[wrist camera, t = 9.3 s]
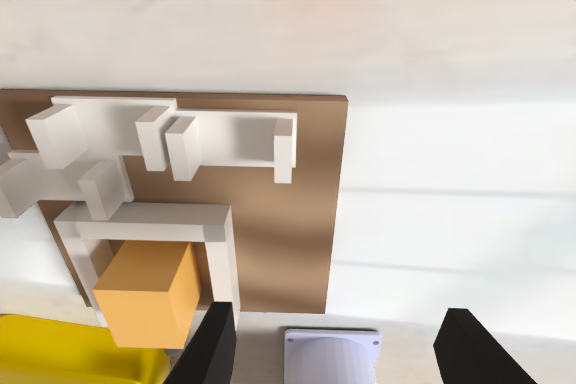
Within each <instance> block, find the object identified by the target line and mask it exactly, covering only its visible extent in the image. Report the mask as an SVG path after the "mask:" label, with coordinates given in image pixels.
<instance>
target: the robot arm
mask: <svg viewBox="0 0 576 384" xmlns="http://www.w3.org/2000/svg"><path fill="white" fill-rule="evenodd" d="M382 339H383V337H382V334H381V333H380V332H377V331H344V330H311V329H288V330H286V331H285V349H284V384H377V382H376V377H375V372H374V369H375V365H376V362H377V358H378V354H379V351H380V347H381V343H382ZM235 347H236V331H235V322H234V314H233V305H232V302H221V301H214V302H212V303H211V305H210V307H209V309H208V311H207V313H206V315H205V316H204V318H203V320H202V322H201V324H200V326H199V327H198V329H197V331H196V333H195V334H194V336H193V338H192V339H191V341H190V343H189V344H188V346H187V347H186V349H185V351H184V352H183V354H182V355H181V357H180V358H179V360H178V362H177V363H176V365H175V366H174V368H173V369H172V371H171V372H170V373H169V375H168V376H167V378H166V379H165V381H164V382H163V383H162V384H230V379H231V375H232V370H233V363H234V355H235ZM433 347H434V351H435V355H436V359H437V363H438V366H439V370H440V374H441V377H442V380H443V383H444V384H537V383H536V382H535V381H534V380H533V379H532V378H531V377H530V376H529V375H528V374H527V373H526V372H525V371H524V370H523V369H522V368H521V366H520V365H519V364H518V363H517V362H516V361H515V360H514V359H513V358H512V357H511V356H510V355H509V354H508V353H507V352H506V351H505V349H504V348H503V347H502V346H501V345H500V344H499V343H498V342H497V341H496V340H495V339H494V338H493V336H492V335H491V334H490V333H489V332H488V331H487V330H486V329H485V328H484V327H483V325H482V324H481V323H480V322H479V321H478V320H477V319H476V318H475V317H474V316H473V314H472V313H471V312H470V311H469V310H468V309H461V308H448V311H447V313H446V316H445V318H444V320H443V323H442V325H441V328H440V330H439V333H438V335H437V337H436V340H435V342H434V345H433Z"/></svg>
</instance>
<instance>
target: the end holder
mask: <svg viewBox="0 0 576 384" xmlns="http://www.w3.org/2000/svg"><path fill="white" fill-rule="evenodd" d="M53 222H54V224H55V226H56V229H57V231H58V233H59V235H60V237H61V239H62V242H63V244H64V246H65V248H66V250H67V253H68V255H69V257H70V259H71V261H72V263H73V266H74V268H75V270H76V272H77V274H78V276H79V279H80V281H81V283H82V285H83V287H84V289H85V292H86V294H87V296H88V298H89V300H90V303H91V305H92V307H93V309H94V311H95V313H96V316H97V318H98V320H99V322H100V324H101V326H102V327H108V325H107V323H106V320H105V318H104V316H103V313H102V311H101V309H100V307H99V304H98V302H97V300H96V298H95V295H94V293H93V291H92V289H93V288H94V286H95V285H96V283H97V282H98V280H99V279H100V277H101V276H102V274H103V273H104V271H105V270H106V269H107V267H108V266H109V264H110V263H111V261H112V260H113V258H114V255H113V252H112V249H111V247H110V244H109V241H108V239H116V240H154V241H192V242H205V246H206V252H207V258H208V265H209V271H210V277H211V284H212V290H213V296H214V301H221V302H232V305H233V314H234V322H235V331H236V329H237V324H238V318H239V313H240V296H239V286H238V276H237V266H236V255H235V245H234V235H233V225H232V214H231V205H220V204H179V203H139V202H123V203H122V204H121V205H120V206H119V208H118V209H117V210H116V211H115V213H114V214H113V215H112V216H111V217H110V219H109V220H108V221H106V220H92V217H91V214H90V212H89V209H88V206H87V204H86V201H74V202H73V203H72V204H70V205H69V206H68V207H67V208H66V209H65V210H64V211H63V212H62V213H61V214H60V215H59V216H58V217H57V218H56V219H55V220H54V221H53Z"/></svg>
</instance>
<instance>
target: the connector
mask: <svg viewBox="0 0 576 384" xmlns="http://www.w3.org/2000/svg"><path fill="white" fill-rule="evenodd" d="M92 291H93V293H94V295H95V298H96V300H97V302H98V304H99V307H100V309H101V311H102V313H103V316H104V318H105V320H106V323H107V325H108V327H109V329H110V332H111V334H112V336H113V338H114V341H115V343H116V345H117V347H136V348H163V349H164V352H165V353H166V355H168V356H170V357H175V356H178V355H179V354H180V353H181V352H182V351H183V348H184V345H185V342H186V339H187V336H188V332H189V329H190V326H191V323H192V320H193V317H194V313H195V310H196V307H197V304H198V301H199V298H200V295H201V291H202V288H201V283H200V277H199V272H198V266H197V261H196V255H195V250H194V244H193V242H192V241H154V240H126V241H125V242H124V244H123V245H122V247H121V248H120V249H119V251H118V252H117V254H116V255H115V257H114V258H113V260H112V261H111V263H110V264H109V266H108V267H107V269H106V270H105V271H104V273H103V274H102V276H101V277H100V279H99V280H98V282H97V283H96V285H95V286H94V288H93V289H92Z"/></svg>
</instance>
